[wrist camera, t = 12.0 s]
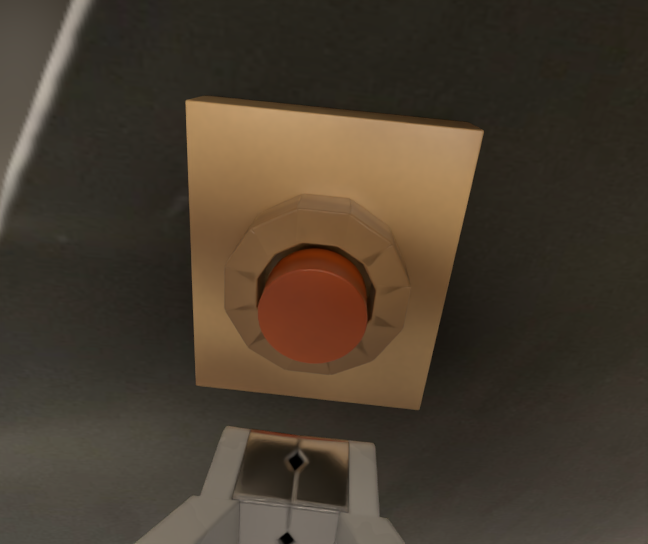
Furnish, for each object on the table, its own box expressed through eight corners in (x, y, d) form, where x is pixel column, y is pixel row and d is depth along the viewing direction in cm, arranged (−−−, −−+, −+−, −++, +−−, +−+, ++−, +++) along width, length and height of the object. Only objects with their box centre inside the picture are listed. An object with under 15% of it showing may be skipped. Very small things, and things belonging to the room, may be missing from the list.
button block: (413, 379, 22) (425, 441, 18) (209, 356, 22) (181, 414, 19) (469, 122, 17) (501, 139, 13) (204, 95, 17) (164, 104, 14)
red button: (359, 341, 17) (360, 369, 16) (264, 330, 17) (255, 358, 16) (372, 253, 16) (375, 275, 14) (268, 242, 16) (258, 262, 14)
